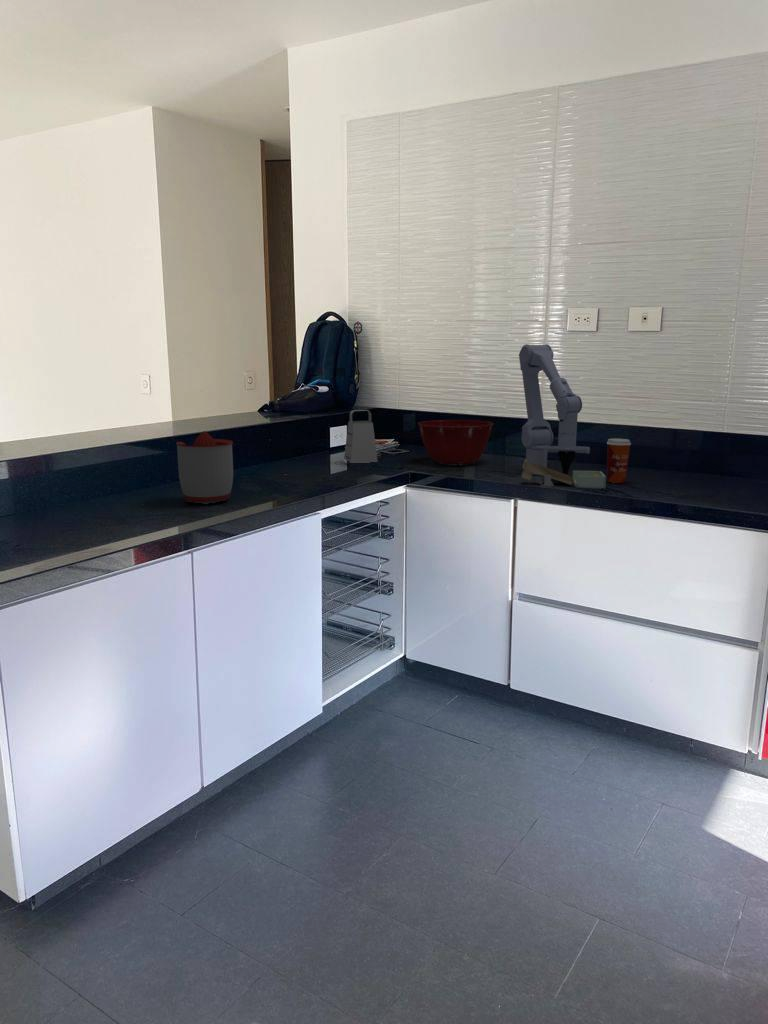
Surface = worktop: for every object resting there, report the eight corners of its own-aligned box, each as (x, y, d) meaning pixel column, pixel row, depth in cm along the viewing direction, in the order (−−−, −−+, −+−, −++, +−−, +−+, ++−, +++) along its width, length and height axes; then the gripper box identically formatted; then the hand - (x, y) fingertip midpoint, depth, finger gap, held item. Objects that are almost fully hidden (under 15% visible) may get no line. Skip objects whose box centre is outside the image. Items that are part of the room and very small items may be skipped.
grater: (343, 462, 284) (343, 409, 280) (370, 461, 287) (370, 408, 283) (350, 466, 274) (350, 411, 270) (378, 465, 277) (378, 411, 273)
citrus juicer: (208, 493, 224) (205, 426, 220) (246, 500, 214) (244, 430, 209) (164, 501, 213) (159, 431, 208) (202, 509, 202) (198, 435, 198)
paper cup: (612, 484, 240) (615, 441, 237) (599, 480, 247) (602, 438, 244) (633, 483, 242) (636, 440, 239) (620, 479, 249) (623, 437, 246)
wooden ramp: (518, 470, 251) (523, 456, 249) (564, 486, 250) (570, 471, 248) (520, 477, 238) (525, 461, 237) (569, 493, 237) (575, 478, 236)
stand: (539, 481, 245) (539, 470, 244) (551, 482, 244) (552, 470, 243) (541, 486, 237) (541, 474, 236) (553, 486, 236) (554, 474, 236)
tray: (572, 481, 245) (572, 470, 244) (600, 482, 244) (601, 471, 243) (576, 488, 234) (576, 476, 233) (605, 488, 233) (606, 476, 232)
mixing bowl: (404, 460, 290) (404, 420, 286) (467, 456, 301) (468, 417, 298) (439, 471, 265) (440, 427, 261) (507, 466, 276) (508, 424, 273)
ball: (587, 478, 240) (594, 471, 239) (594, 485, 240) (601, 477, 239) (588, 480, 237) (595, 472, 236) (596, 486, 237) (603, 479, 236)
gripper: (545, 434, 240) (543, 475, 243) (592, 435, 238) (589, 477, 241) (544, 431, 247) (542, 472, 250) (589, 432, 245) (586, 473, 248)
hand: (565, 474), depth 246 cm, fingers closed
